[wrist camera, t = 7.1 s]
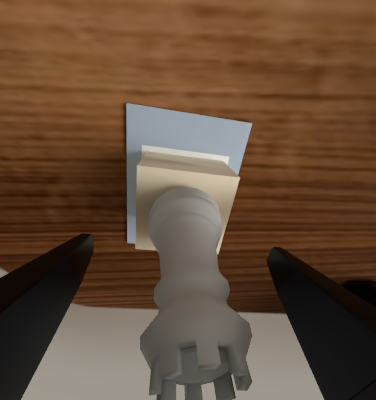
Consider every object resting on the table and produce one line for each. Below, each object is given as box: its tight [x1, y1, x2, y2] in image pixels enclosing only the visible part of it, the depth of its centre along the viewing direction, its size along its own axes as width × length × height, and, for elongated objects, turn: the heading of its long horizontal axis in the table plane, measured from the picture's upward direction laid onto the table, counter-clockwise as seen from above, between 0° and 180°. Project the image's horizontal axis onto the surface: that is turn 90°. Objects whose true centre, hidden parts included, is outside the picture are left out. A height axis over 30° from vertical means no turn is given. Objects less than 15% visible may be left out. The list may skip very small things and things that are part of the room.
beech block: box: [135, 151, 240, 254], centre depth 13 cm, size 6×6×4 cm
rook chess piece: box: [140, 187, 252, 400], centre depth 8 cm, size 4×4×8 cm
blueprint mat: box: [126, 103, 252, 243], centre depth 15 cm, size 12×9×1 cm
